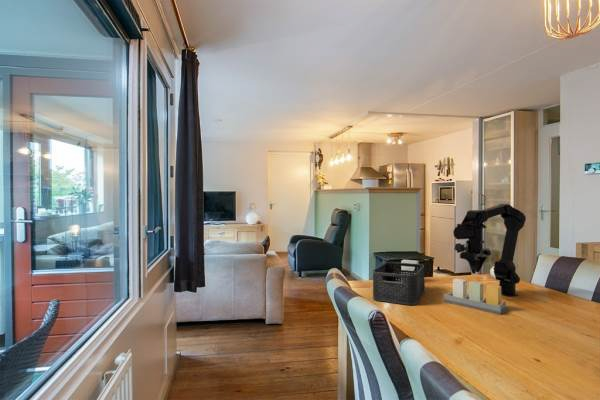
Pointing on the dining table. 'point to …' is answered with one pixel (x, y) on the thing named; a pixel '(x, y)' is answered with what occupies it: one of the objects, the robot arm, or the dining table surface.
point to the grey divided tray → (476, 304)
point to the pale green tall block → (475, 291)
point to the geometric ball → (492, 272)
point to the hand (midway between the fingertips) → (475, 272)
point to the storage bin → (398, 283)
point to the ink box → (407, 266)
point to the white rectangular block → (459, 288)
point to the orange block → (493, 294)
